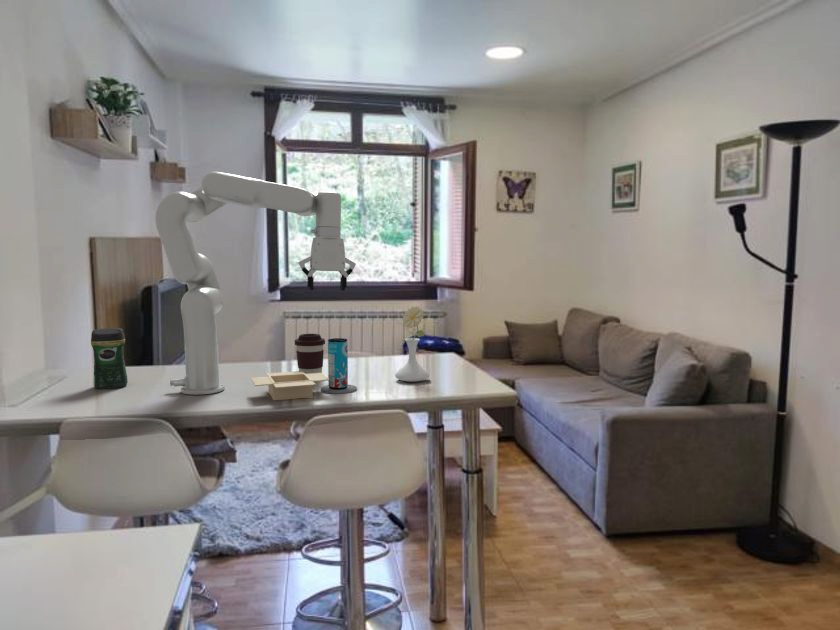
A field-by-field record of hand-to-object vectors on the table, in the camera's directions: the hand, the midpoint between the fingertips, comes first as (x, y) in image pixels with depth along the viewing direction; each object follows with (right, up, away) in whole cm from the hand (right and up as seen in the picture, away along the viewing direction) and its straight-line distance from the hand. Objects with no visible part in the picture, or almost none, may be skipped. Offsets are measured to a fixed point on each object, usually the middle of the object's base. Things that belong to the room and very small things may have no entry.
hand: (327, 290), depth 186 cm
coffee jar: (-69, -30, +7) cm, 76 cm away
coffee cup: (-8, -29, +18) cm, 35 cm away
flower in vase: (+26, -30, +15) cm, 42 cm away
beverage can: (+3, -30, +2) cm, 30 cm away
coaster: (+3, -31, +2) cm, 31 cm away
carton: (-10, -31, -4) cm, 33 cm away
